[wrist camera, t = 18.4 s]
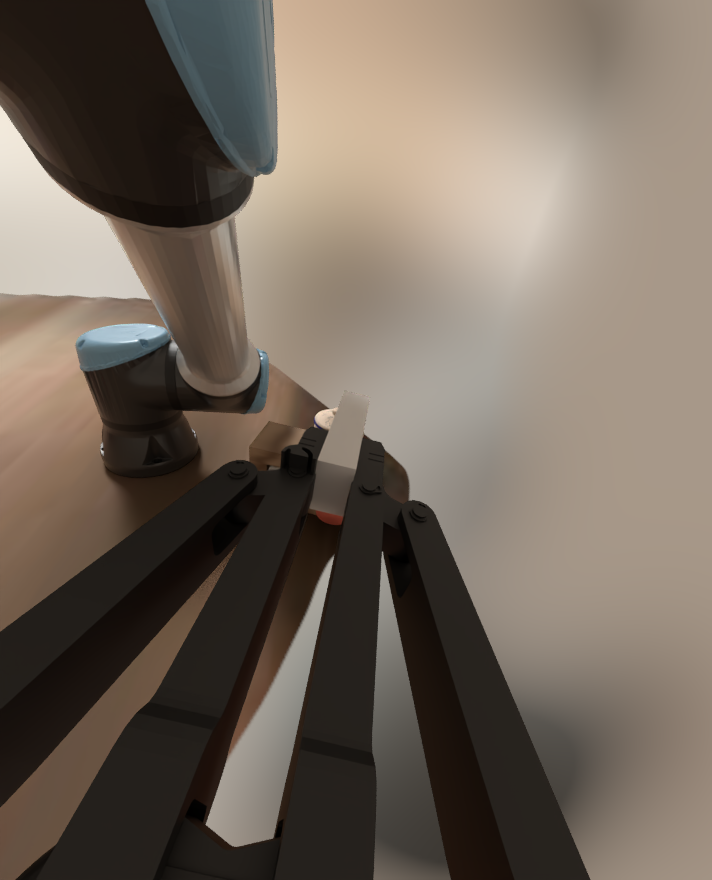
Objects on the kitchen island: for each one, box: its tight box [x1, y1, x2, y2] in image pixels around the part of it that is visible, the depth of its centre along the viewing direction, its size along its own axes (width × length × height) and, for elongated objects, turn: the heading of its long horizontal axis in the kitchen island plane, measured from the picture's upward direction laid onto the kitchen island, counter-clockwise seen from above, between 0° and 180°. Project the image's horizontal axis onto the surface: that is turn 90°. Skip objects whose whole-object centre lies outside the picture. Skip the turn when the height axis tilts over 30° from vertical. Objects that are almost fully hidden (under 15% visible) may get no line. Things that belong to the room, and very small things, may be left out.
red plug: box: [316, 510, 343, 525], centre depth 47 cm, size 5×13×5 cm, turn 173°
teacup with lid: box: [314, 408, 364, 438], centre depth 62 cm, size 12×9×12 cm
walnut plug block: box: [249, 421, 317, 515], centre depth 49 cm, size 20×8×12 cm, turn 83°
